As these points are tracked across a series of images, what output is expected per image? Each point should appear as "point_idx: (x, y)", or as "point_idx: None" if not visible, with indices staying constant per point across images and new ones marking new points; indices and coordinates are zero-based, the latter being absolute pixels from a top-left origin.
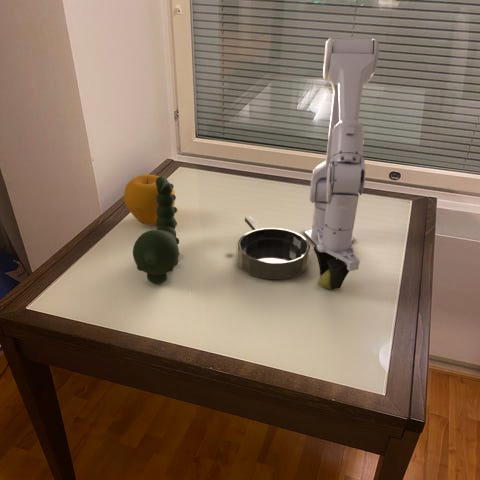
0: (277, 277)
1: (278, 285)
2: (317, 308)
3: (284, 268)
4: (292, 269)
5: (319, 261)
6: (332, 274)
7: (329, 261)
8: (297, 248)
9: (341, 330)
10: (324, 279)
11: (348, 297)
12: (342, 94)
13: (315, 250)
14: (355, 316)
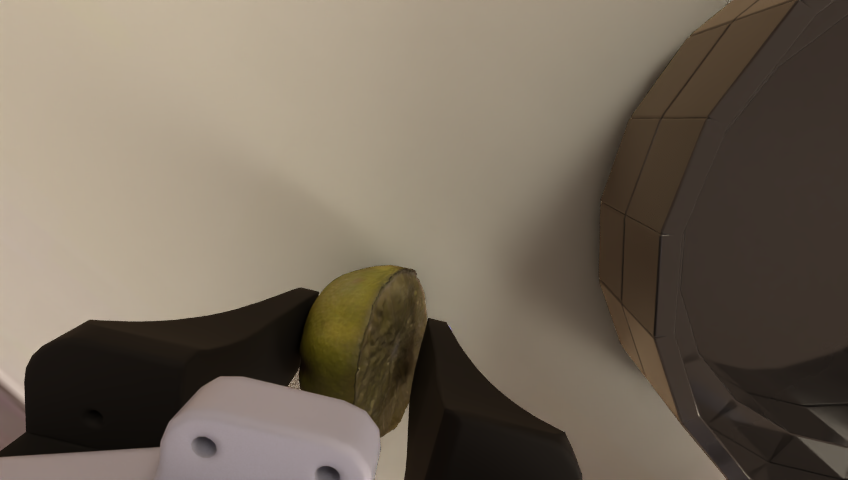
0: (660, 80)
1: (599, 58)
2: (245, 110)
3: (668, 128)
4: (628, 203)
5: (458, 376)
6: (212, 319)
7: (147, 368)
8: (826, 433)
9: (4, 82)
10: (343, 289)
11: None
12: None
13: (506, 424)
14: (90, 243)
